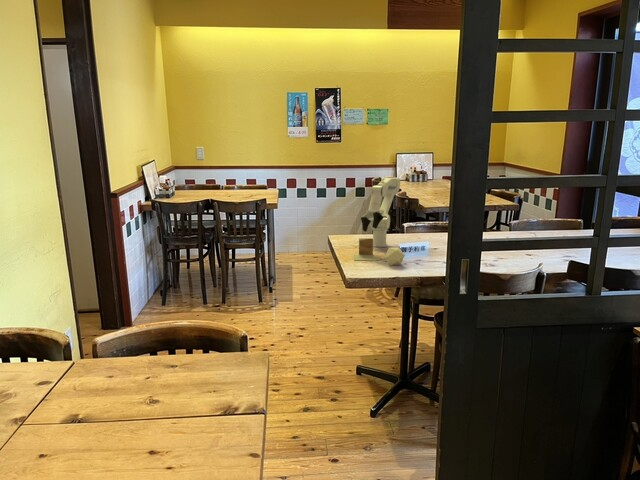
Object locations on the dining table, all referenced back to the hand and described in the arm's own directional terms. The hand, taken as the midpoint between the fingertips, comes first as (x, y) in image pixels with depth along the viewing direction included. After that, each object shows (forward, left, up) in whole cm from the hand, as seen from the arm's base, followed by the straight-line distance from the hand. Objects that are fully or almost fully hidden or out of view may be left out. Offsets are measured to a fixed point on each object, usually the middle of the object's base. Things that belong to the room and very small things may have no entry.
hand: (369, 229), depth 236 cm
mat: (+8, -2, -13) cm, 15 cm away
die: (+18, +11, -13) cm, 25 cm away
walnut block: (+1, -2, -13) cm, 13 cm away
